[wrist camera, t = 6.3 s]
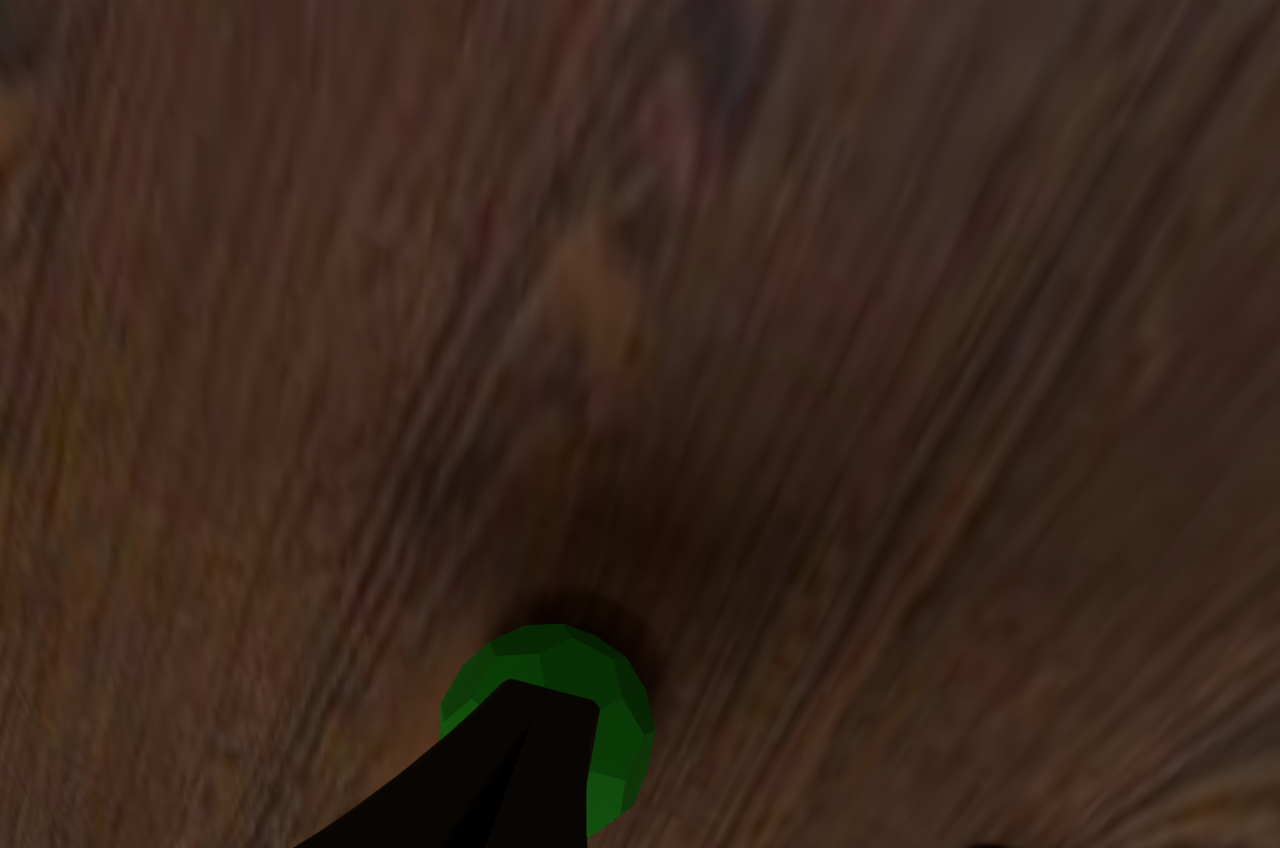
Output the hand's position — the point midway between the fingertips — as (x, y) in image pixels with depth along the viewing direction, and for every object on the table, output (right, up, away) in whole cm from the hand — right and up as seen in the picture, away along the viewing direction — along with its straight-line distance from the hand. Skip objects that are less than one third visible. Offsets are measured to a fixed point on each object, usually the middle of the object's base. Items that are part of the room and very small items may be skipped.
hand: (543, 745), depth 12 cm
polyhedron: (0, -2, +11) cm, 11 cm away
